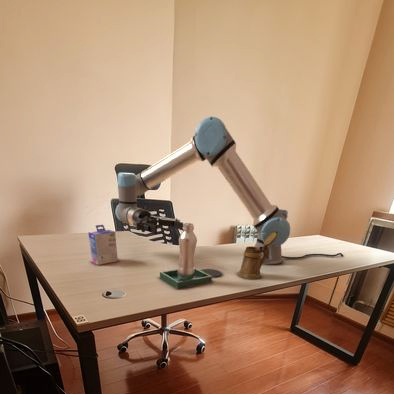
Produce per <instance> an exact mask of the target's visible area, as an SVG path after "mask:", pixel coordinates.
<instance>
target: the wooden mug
mask: <svg viewBox="0 0 394 394" xmlns="http://www.w3.org/2000/svg"><path fill="white" fill-rule="evenodd" d="M277 235H278V231H275V232H273V233H271V234H270V235H269V236H268V237H267V238H266V239H265V241H264V245H263V246H260V247H259V248H257V247H254V246H249V245H248V246H246V247H245V250H244V252H243V258H242V263H241V266H240V269H239V271H238V276H239V277H241V278H244V279H248V280H257V279H259V278H260V277H261V269H262V265H264V264H263V263H264V261H265V260H266V258H267V256H268V247H267V246H269V245H271V244H272V243H273V242H274V241H275V239H276V238H277ZM261 252H263V253H264V256H263V258H261V256H262V254H261ZM260 258H261V259H260Z"/></svg>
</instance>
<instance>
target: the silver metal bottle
mask: <svg viewBox="0 0 394 394" xmlns="http://www.w3.org/2000/svg"><path fill="white" fill-rule="evenodd" d="M182 223H183V230H184V231H182V232H181V233H180V235H179V238H178V247H179V259H178V267H177V269H178V270H177V269H176V270H177V275H178V277H179V278H180V279H182V280H190V279H193V277H194V274H195V269H194V268H195V254H196V247H197V242H198V238H197V235H196V234H195V232H194V230H195V224H194V223H191V222H182Z"/></svg>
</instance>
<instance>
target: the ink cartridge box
mask: <svg viewBox="0 0 394 394" xmlns="http://www.w3.org/2000/svg"><path fill="white" fill-rule="evenodd" d="M95 229H96V231H88V232H87V233H88V240H89V247H90V254H91V261H92V263H93V264H96V265H97V266H98V265H99V266H100V265H104V264H109V263H114V262H118V261H119V257H118V247H117V235H116V231H113V230H111V229H106V228H105V225H104V224H97V225H95Z"/></svg>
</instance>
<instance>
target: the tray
mask: <svg viewBox="0 0 394 394" xmlns="http://www.w3.org/2000/svg"><path fill="white" fill-rule="evenodd" d="M194 269H195V274H194V277H193V279H190V280H182V279H180V278H179V277H178V275H177V270H178V268H177V269H172V270H171V269H170V270H165V271H159V279H160V280H162V281H164V282H166V283H167V284H169V285H171V286H172V287H173V288H176V290H179V289H184V288H191V287H194V286H195V287H196V286H200V285H205V284H211V283H212V280H213V277H212V276H210V275H208V274H206V273H204V272H202V271H201V269H198V268H196V267H194Z"/></svg>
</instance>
